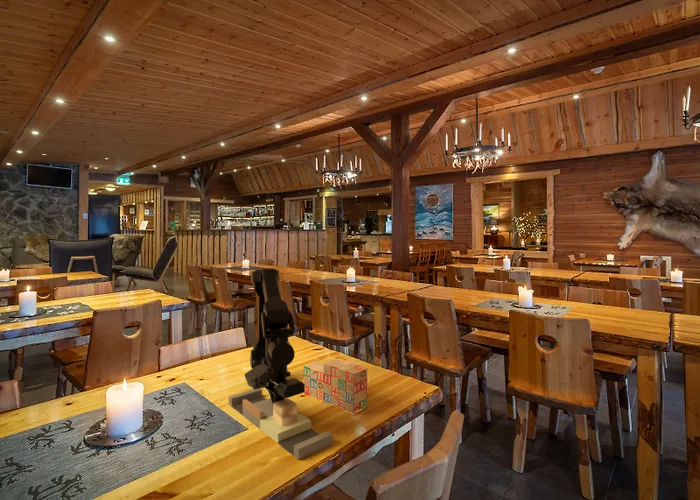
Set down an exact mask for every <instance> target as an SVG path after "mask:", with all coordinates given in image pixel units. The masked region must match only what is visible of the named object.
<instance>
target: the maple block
mask: <svg viewBox="0 0 700 500" xmlns="http://www.w3.org/2000/svg"><path fill="white" fill-rule="evenodd" d="M297 412H298V403H296V402H295V401H293V400H292V399H290V398H287V399H284V400H281V401H278V402H275V403H273V420H274V421H276V422H277V423H279V424H280V425H281V426H284V425H287V424H289V423H292V422H295V421H297Z"/></svg>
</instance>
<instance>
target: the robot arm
mask: <svg viewBox="0 0 700 500" xmlns="http://www.w3.org/2000/svg"><path fill="white" fill-rule="evenodd" d="M250 283H251V284H252V287H253V291H254V292H255V293H256V295H257V336H256V338H255V340H254V341H253V342H252V349H251V350H250V354H249V355H250V356H249V363H250V367H251V369H250V370H248V371H247V372H245V373H244V375H243V376H244V378H245V381H246V383H247V386H248V387H251V388H252V390H253V389H254V390H256V389H259V388H260V389H261V388H265V389H266V391H267V392H268V394H269V397H270V398H271V401H272V404H273V403H275V402H278V401H281V400H284V398H288V399H290V398H292V397H295V396H297V395H301V394H304V392H305V384H304V381H301V380H299V379H298V378H296V377H292V378H288V377H291V371H289V370H288V365H290V364H291V363H292V362H293V361H294V359H295V349H294V348H293V346H292V344H291V342H290V340H289V336H294V335H295V331H296V325H295V320H294V314H292V311H291V310H290V309H289V306H288V302H286V301H285V300H283V299H282V297H281V292H280V287H279V283H280V270H279V269H277V268H274V267H270V268H269V267H268V268H267V267H266V268H265V267H264V268H259V269H257V268H256V269H254V270H253V271H251V273H250Z"/></svg>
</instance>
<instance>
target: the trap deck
mask: <svg viewBox="0 0 700 500" xmlns="http://www.w3.org/2000/svg"><path fill="white" fill-rule="evenodd" d="M284 399H287V398H284ZM228 406H230V407H231V408H233V409H234V410H235V411H236V412H238V413H239V414H240V415H242V417H244V418H245V419H246V420H248V421H249V422H250V423H252V424H253V425H254V426H255V427H256V428H258V429H259V430H260V431H261V432H263V434H266V435H267V436H268V437H269V438H270V439H272V440H273V441H274V442H275V443H277V444H278V445H279V446H281V448H283V449H284V450H286V451H287V452H288V453H289V454H291V455H292V456H293V457H294V458H296V459H297V460H301V459H303V458H306V457H307V456H310V455H312V454H314V453H316V452H318V451H320V450H323V449H325V448H327V447H329V446H331V445H333V444H334V442H333V441H334V440H333V438H334V437H333V436H334V435H333V433H331V432H330V431H328V430H326V431H324V432H322V433H318V431H316V430H314V429H313V428H312V420H311V419H309V418H307V417H306V416H305V415H303V414H301V413H300V412H298V411H297V421H295V422H292V423H289V424H287V425H284V426H281V425H280V424H279V423H277V422H276V421H274V420H273V404H272V401H271V398H266V397H264V396H263V389H262V388H261V387H260V388H259V389H256V390H254V389H253V388H252V389H250V390H246V391H243V392H238V393H236V394H232V395H230V396H228Z"/></svg>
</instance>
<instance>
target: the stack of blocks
mask: <svg viewBox="0 0 700 500" xmlns="http://www.w3.org/2000/svg"><path fill="white" fill-rule="evenodd" d="M303 383H304V384H305V392H304V393H303V394H305V395H307V396H309V395H310V397H311V398H313V397H314V398H313V399H316V400H318V399H319V400H318V401H320V400H322V401H325V402H328V403H330V404H332V405H334V406H337V407H339V408H341V409H344V410H346V411H348V412H351V413H355V412H356V411H358V410H360V409H362V408H364V407H365V406H368V403H367V400H368V398H367V396H368V367H365V366H361V365H360V364H359V363H355V362H350V361H346V360H343V359H340V358H338V357H337V358H333V359H332V360H329V361H326V362H321V361H318V360H316V361H314V362H311V363H308V364H305V365H303ZM322 401H321V402H322ZM325 402H324V403H325ZM330 404H329V405H330ZM332 405H331V406H332ZM334 406H333V407H334ZM337 407H336V408H337ZM339 408H338V409H339ZM341 409H340V410H341ZM346 411H345V412H346ZM348 412H347V413H348Z"/></svg>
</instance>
